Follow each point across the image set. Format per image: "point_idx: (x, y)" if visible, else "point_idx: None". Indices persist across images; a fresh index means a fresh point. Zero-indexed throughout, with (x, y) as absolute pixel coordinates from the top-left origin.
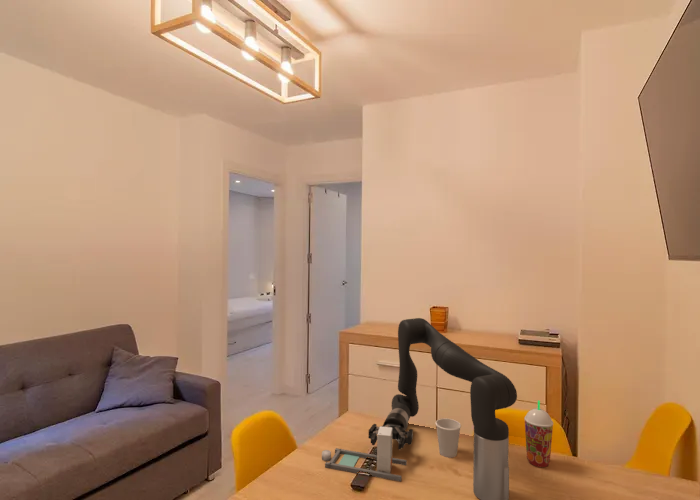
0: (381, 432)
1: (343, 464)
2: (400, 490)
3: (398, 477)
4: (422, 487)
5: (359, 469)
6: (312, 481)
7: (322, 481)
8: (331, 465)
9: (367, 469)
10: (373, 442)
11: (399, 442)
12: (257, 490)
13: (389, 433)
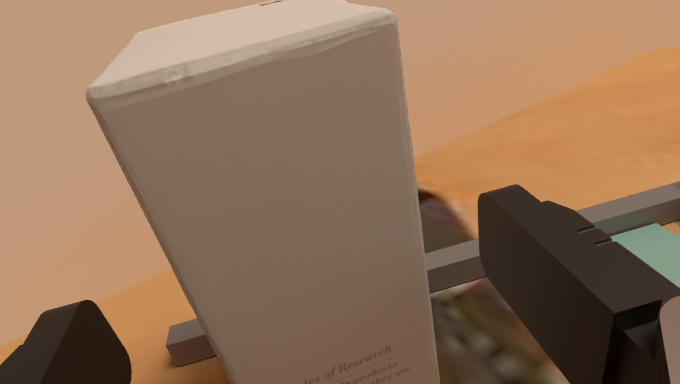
0: (270, 8)
1: (657, 258)
2: (178, 286)
3: (188, 322)
4: None
5: (475, 243)
6: (593, 133)
7: (561, 150)
8: (666, 190)
9: (429, 269)
10: (484, 227)
11: (62, 310)
12: (661, 58)
13: (150, 34)
